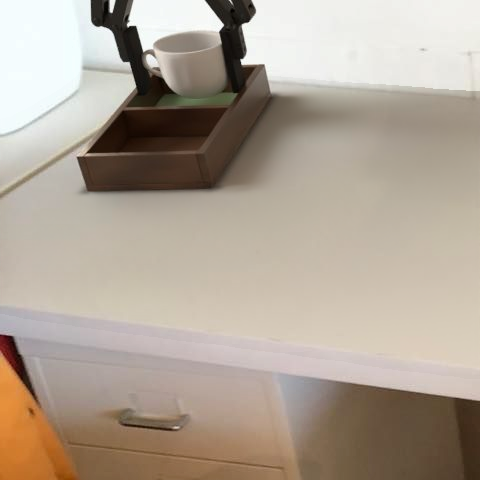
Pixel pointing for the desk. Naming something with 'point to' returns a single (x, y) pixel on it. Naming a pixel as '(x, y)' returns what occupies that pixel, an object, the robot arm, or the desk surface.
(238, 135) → the wooden compartment tray
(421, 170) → the desk surface
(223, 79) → the teacup
